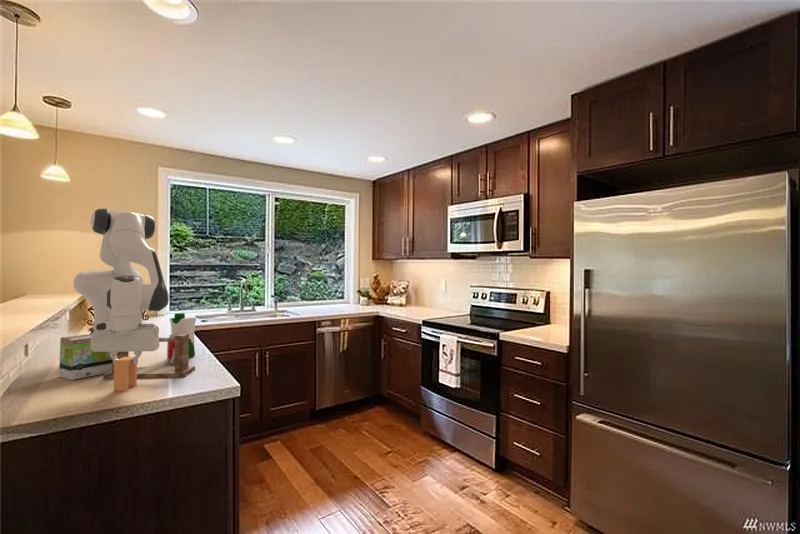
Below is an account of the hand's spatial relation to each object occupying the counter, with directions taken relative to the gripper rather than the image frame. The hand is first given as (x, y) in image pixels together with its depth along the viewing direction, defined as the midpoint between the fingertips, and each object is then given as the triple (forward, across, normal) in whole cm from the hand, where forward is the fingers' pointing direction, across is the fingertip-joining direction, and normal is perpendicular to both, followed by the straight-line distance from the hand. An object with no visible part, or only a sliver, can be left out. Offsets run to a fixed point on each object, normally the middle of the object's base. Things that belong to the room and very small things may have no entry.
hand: (125, 364), depth 132 cm
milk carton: (+8, 0, -45) cm, 46 cm away
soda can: (+8, -2, -34) cm, 35 cm away
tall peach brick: (+8, 0, 0) cm, 8 cm away
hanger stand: (+8, 0, -17) cm, 19 cm away
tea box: (+8, +23, -19) cm, 31 cm away
